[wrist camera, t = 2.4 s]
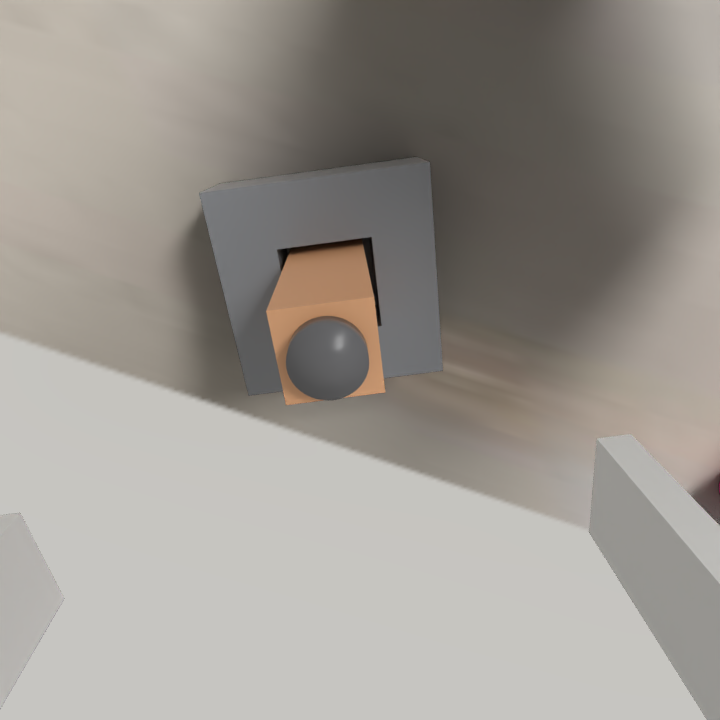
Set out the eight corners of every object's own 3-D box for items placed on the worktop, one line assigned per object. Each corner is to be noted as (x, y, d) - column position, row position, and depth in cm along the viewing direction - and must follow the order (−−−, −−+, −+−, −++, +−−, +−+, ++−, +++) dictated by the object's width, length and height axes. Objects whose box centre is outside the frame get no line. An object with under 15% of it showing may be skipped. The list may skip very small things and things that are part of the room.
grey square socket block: (219, 183, 31) (199, 192, 26) (416, 156, 31) (430, 161, 26) (260, 361, 36) (248, 395, 31) (429, 339, 36) (442, 370, 31)
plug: (293, 242, 31) (262, 319, 19) (360, 233, 31) (375, 305, 19) (304, 306, 33) (283, 417, 20) (368, 298, 33) (387, 404, 20)
